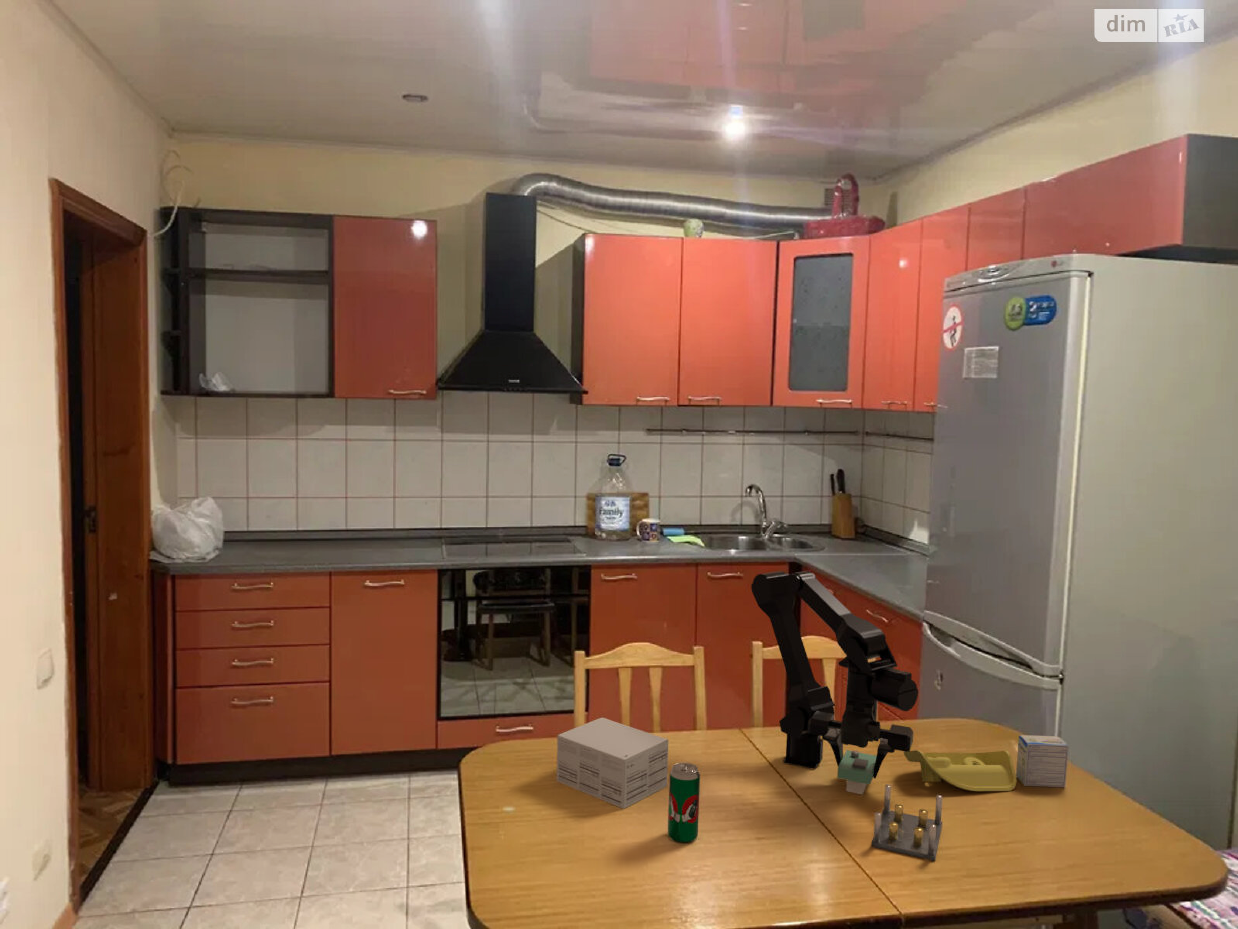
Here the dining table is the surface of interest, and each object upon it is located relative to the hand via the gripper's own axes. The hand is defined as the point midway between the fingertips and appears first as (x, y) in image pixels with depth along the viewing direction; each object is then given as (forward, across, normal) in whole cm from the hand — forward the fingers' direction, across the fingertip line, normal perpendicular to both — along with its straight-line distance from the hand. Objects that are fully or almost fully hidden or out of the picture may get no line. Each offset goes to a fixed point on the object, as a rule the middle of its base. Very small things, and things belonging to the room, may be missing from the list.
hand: (857, 774), depth 172 cm
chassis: (+2, +11, -15) cm, 19 cm away
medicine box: (+3, +32, +19) cm, 37 cm away
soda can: (+3, -23, -33) cm, 40 cm away
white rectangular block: (+2, 0, 0) cm, 2 cm away
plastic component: (+3, +17, +13) cm, 21 cm away
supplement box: (+3, -42, -20) cm, 47 cm away
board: (0, 0, 0) cm, 0 cm away
